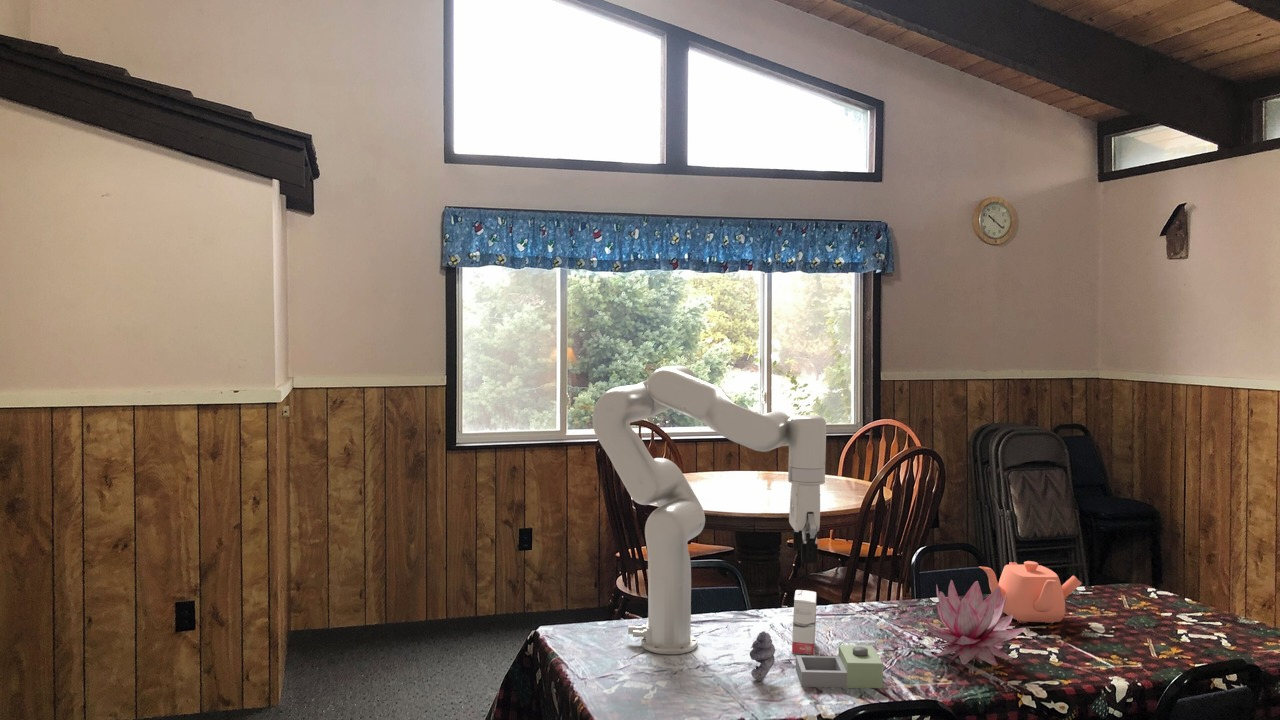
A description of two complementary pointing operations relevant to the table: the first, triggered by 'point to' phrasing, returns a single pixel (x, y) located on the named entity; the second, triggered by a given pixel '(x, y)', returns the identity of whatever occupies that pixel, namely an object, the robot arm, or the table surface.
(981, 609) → the decorative flower
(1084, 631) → the table surface
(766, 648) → the seashell
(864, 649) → the green and grey box
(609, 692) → the table surface
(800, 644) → the ink box
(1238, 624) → the table surface
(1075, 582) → the teapot
